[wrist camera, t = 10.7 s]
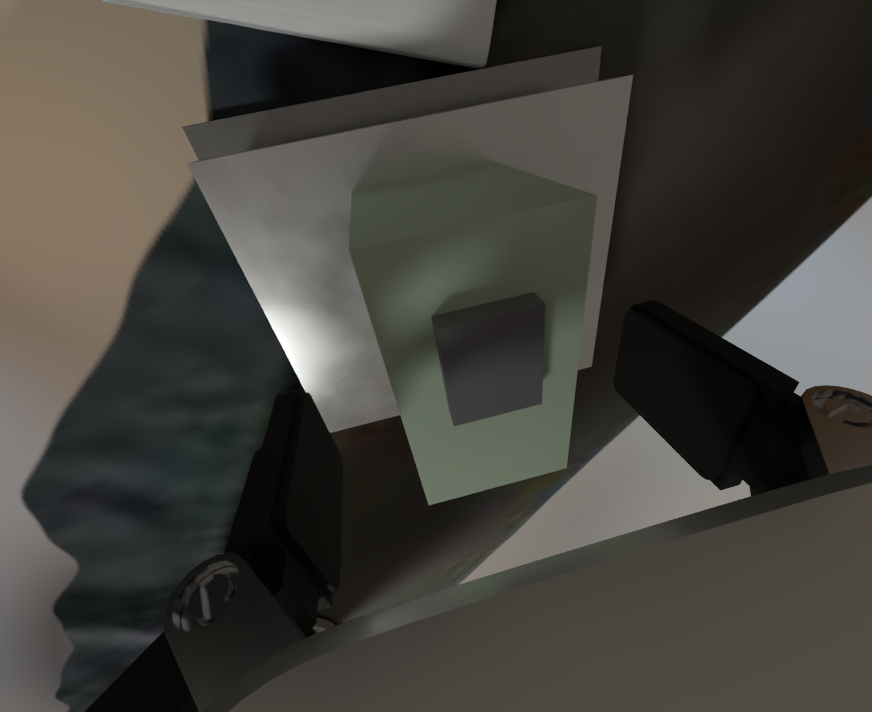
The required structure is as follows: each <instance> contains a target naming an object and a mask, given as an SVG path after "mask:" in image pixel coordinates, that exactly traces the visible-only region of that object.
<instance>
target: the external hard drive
mask: <svg viewBox="0 0 872 712" xmlns="http://www.w3.org/2000/svg"><path fill="white" fill-rule="evenodd" d="M103 1H104V2H107V3H114V4H120V5H125V6H130V7H135V8H145V9H148V10H152V11H156V12H162V13H168V14H173V15H179V16H185V17H190V18H195V19H202V20H205V19H207V20H213V21H218V22H224V23H229V24H235V25H240V26H245V27H251V28H256V29H261V30H266V31H272V32H277V33H283V34H288V35H294V36H299V37H305V38H310V39H316V40H321V41H327V42H333V43H338V44H344V45H349V46H354V47H360V48H365V49H371V50H376V51H382V52H387V53H393V54H398V55H404V56H409V57H415V58H421V59H426V60H432V61H437V62H443V63H448V64H454V65H460V66H465V67H471V68H476V69H480V68H482V67H484V66H485V65H486V63H487V58H488V53H489V48H490V42H491V36H492V29H493V22H494V16H495V10H496V2H497V0H103Z"/></svg>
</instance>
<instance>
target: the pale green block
mask: <svg viewBox="0 0 872 712" xmlns="http://www.w3.org/2000/svg"><path fill="white" fill-rule="evenodd" d="M596 203H597V195H595V194H592V193H589V192H586V191H583V190H580V189H577V188H574V187H571V186H568V185H565V184H562V183H559V182H556V181H553V180H550V179H546V178H543V177H540V176H537V175H534V174H531V173H528V172H525V171H522V170H519V169H516V168H513V167H510V166H507V165H504V164H501V163H498V162H496V163H491V164H486V165H481V166H477V167H472V168H467V169H462V170H458V171H453V172H448V173H443V174H438V175H434V176H429V177H424V178H419V179H415V180H410V181H405V182H400V183H396V184H391V185H386V186H381V187H377V188H372V189H367V190H362V191H358V192H353V193H352V194H351V214H350V234H349V253H350V256H351V259H352V262H353V266H354V269H355V272H356V275H357V278H358V281H359V285H360V288H361V291H362V294H363V297H364V301H365V304H366V307H367V310H368V313H369V317H370V320H371V323H372V326H373V329H374V333H375V336H376V339H377V342H378V345H379V348H380V352H381V355H382V358H383V361H384V364H385V368H386V371H387V374H388V377H389V380H390V384H391V387H392V390H393V393H394V396H395V400H396V403H397V406H398V409H399V412H400V415H401V419H402V422H403V425H404V428H405V431H406V435H407V438H408V441H409V444H410V447H411V451H412V454H413V457H414V460H415V463H416V467H417V470H418V473H419V476H420V479H421V482H422V486H423V489H424V492H425V495H426V498H427V502H428V505H432V504H436V503H440V502H443V501H447V500H451V499H454V498H458V497H462V496H466V495H469V494H473V493H477V492H480V491H484V490H488V489H491V488H495V487H499V486H502V485H506V484H510V483H513V482H517V481H521V480H525V479H528V478H532V477H536V476H539V475H543V474H547V473H550V472H554V471H558V470H561V469H565V468H567V460H568V451H569V442H570V433H571V424H572V416H573V407H574V398H575V389H576V380H577V371H578V362H579V353H580V345H581V336H582V327H583V318H584V309H585V300H586V291H587V282H588V274H589V265H590V256H591V247H592V238H593V229H594V220H595V212H596Z"/></svg>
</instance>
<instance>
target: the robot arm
mask: <svg viewBox="0 0 872 712" xmlns="http://www.w3.org/2000/svg"><path fill="white" fill-rule="evenodd" d="M798 384H799V382H798V381H796V380H795V379H793V378H791V377H789V376H788V375H786V374H784V373H782V372H780V371H779V370H777V369H775V368H774V367H772V366H770V365H768V364H767V363H765V362H763V361H761V360H760V359H758V358H756V357H754V356H753V355H751V354H749V353H747V352H746V351H744V350H742V349H740V348H738V347H737V346H735V345H733V344H732V343H730V342H728V341H726V340H725V339H723V338H721V337H719V336H718V335H716V334H714V333H712V332H711V331H709V330H707V329H705V328H704V327H702V326H700V325H698V324H697V323H695V322H693V321H691V320H690V319H688V318H686V317H684V316H683V315H681V314H679V313H677V312H676V311H674V310H672V309H670V308H669V307H667V306H665V305H663V304H662V303H660V302H658V301H655V300H651V301H647V302H643V303H639V304H635V305H633V306H632V307H631V308H630V310H629V311H628V312H627V313H626V315H625V319H624V325H623V331H622V336H621V342H620V347H619V353H618V359H617V364H616V370H615V376H614V387H615V389H616V391H617V392H618V393H619V395H620V396H621V397H622V398H623V399H624V400H625V401H626V402H627V403H628V404H629V405H630V406H631V407H632V408H633V409H634V410H635V411H636V412H637V413H638V414H639V415H640V416H641V417H642V418H643V419H644V420H645V421H647V423H648V424H649V425H650V426H651V427H652V428H654V430H655V431H656V432H657V433H658V434H659V435H660V436H661V437H662V438H664V439H665V440H666V442H667V443H668V444H669V445H670V446H671V447H672V448H673V449H674V450H675V451H676V452H677V453H678V454H679V455H680V456H681V457H682V458H683V459H684V460H685V461H686V462H687V463H688V464H690V466H691V467H692V468H693V469H694V470H695V471H696V472H698V474H699V475H700V476H702V477H703V478H705V479H707V480H710V481H711V482H713V484H714V485H716V486H717V487H718V488H719V489H720V490H723V489H726V488H730V487H733V486H737V485H739V484H740V483H741V481H742V480H744V481H745V482H746V483H747V484H748V485H749V486H750V492H751V497H747V498H744V499H741V500H737V501H734V502H731V503H727V504H724V505H721V506H717V507H714V508H710V509H707V510H704V511H700V512H697V513H694V514H690V515H687V516H684V517H680V518H677V519H673V520H670V521H667V522H663V523H660V524H657V525H653V526H650V527H647V528H643V529H640V530H637V531H634V532H630V533H627V534H624V535H620V536H617V537H614V538H610V539H608V540H604V541H601V542H597V543H594V544H591V545H587V546H584V547H581V548H577V549H574V550H571V551H567V552H564V553H561V554H558V555H554V556H551V557H548V558H545V559H541V560H538V561H535V562H532V563H528V564H525V565H522V566H518V567H515V568H512V569H509V570H505V571H502V572H499V573H496V574H492V575H489V576H486V577H483V578H479V579H476V580H473V581H470V582H466V583H463V584H460V585H457V586H454V587H450V588H447V589H444V590H441V591H437V592H434V593H431V594H428V595H425V596H422V597H419V598H416V599H412V600H409V601H406V602H403V603H400V604H397V605H394V606H391V607H388V608H385V609H382V610H379V611H376V612H373V613H370V614H367V615H364V616H361V617H358V618H355V619H352V620H349V621H347V622H344V623H342V624H339V625H336V626H335V625H334V624H333V623H332V622H330V621H328V620H326V619H322V618H318V617H317V611H319V610H322V609H326V608H329V607H332V592H333V591H336V590H338V588H339V583H340V553H341V518H342V483H343V462H342V458H341V455H340V453H339V450H338V448H337V446H336V444H335V442H334V440H333V438H332V436H331V434H330V432H329V430H328V428H327V426H326V424H325V422H324V420H323V418H322V416H321V414H320V412H319V410H318V408H317V406H316V404H315V402H314V400H313V398H312V396H311V395H310V393H308V392H307V393H303V392H302V391H301V390H300V389H297V390H293V391H290V392H286V393H282V394H279V395H277V397H276V400H275V404H274V407H273V411H272V414H271V418H270V421H269V425H268V428H267V432H266V435H265V439H264V443H263V446H262V448H261V449H258V450H257V451H256V452H255V455H254V457H253V460H252V463H251V466H250V470H249V473H248V476H247V480H246V483H245V486H244V490H243V493H242V496H241V500H240V503H239V506H238V510H237V513H236V516H235V520H234V523H233V526H232V530H231V533H230V536H229V539H228V543H227V546H226V549H225V553H223V554H218V555H215V556H213V557H211V558H209V559H207V560H205V561H203V562H202V563H200V564H199V565H198V566H196V567H195V568H194V569H192V570H191V571H190V572H189V573H188V574H187V575H186V577H185V578H184V579H183V580H182V581H181V582H180V583H179V585H178V586H177V588H176V589H175V590H174V592H173V593H172V595H171V597H170V599H169V601H168V604H167V606H166V608H165V612H164V617H163V628H164V632H163V633H162V634H161V635H160V636H159V637H158V638H157V639H156V640H155V641H154V642H153V643H152V644H151V645H150V646H149V647H148V648H147V649H146V650H145V651H144V652H143V653H142V654H141V655H140V656H139V657H138V658H137V659H136V660H135V661H134V662H133V663H132V664H131V665H130V666H129V667H128V668H127V669H126V670H125V671H124V672H123V673H122V674H121V675H120V676H119V677H118V678H117V679H116V680H115V681H114V682H113V683H112V684H111V685H110V686H109V687H108V688H107V689H106V691H105V692H104V693H103V694H102V695H101V696H100V697H99V698H98V699H97V700H96V701H95V702H94V703H93V704H92V705H91V706H90V707H89V708H88V709H87V710H86V711H85V712H872V396H871V395H868V394H866V393H863V392H860V391H856V390H853V389H849V388H844V387H839V386H826V385H825V386H815V387H812V388H809V389H807V390H806V391H805V392H804V393H803V394H802V396H801V397H800V396H799V395H797V394H795V393H794V390H795V389H796V387H797V385H798Z"/></svg>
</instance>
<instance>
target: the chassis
mask: <svg viewBox="0 0 872 712" xmlns="http://www.w3.org/2000/svg"><path fill="white" fill-rule="evenodd" d="M601 48H602V46H598V47H593V48H588V49H583V50H577V51H572V52H567V53H562V54H557V55H552V56H546V57H541V58H536V59H531V60H526V61H520V62H515V63H510V64H505V65H500V66H495V67H489V68H484V69H479V70H474V71H469V72H463V73H458V74H453V75H448V76H443V77H438V78H432V79H427V80H422V81H417V82H412V83H406V84H401V85H396V86H391V87H386V88H381V89H375V90H370V91H365V92H360V93H355V94H349V95H344V96H339V97H334V98H329V99H324V100H318V101H313V102H308V103H303V104H298V105H292V106H287V107H282V108H277V109H272V110H267V111H261V112H256V113H251V114H246V115H241V116H235V117H230V118H225V119H220V120H215V121H209V122H204V123H200V124H194V125H189V126H184V127H183V129H184V131H185V133H186V135H187V137H188V139H189V141H190V143H191V145H192V147H193V149H194V151H195V153H196V155H197V157H198V159H199V161H195V162H192V163H188V166H189V168H190V170H191V172H192V174H193V176H194V178H195V180H196V182H197V183H198V185H199V187H200V189H201V191H202V193H203V195H204V197H205V199H206V201H207V203H208V205H209V207H210V209H211V210H212V212H213V214H214V216H215V218H216V220H217V222H218V224H219V226H220V228H221V230H222V232H223V234H224V236H225V237H226V239H227V241H228V243H229V245H230V247H231V249H232V251H233V253H234V255H235V257H236V259H237V261H238V263H239V264H240V266H241V268H242V270H243V272H244V274H245V276H246V278H247V280H248V282H249V284H250V286H251V288H252V289H253V291H254V293H255V295H256V297H257V299H258V301H259V303H260V305H261V307H262V309H263V311H264V313H265V315H266V316H267V318H268V320H269V322H270V324H271V326H272V328H273V330H274V332H275V334H276V336H277V338H278V340H279V342H280V343H281V345H282V347H283V349H284V351H285V353H286V355H287V357H288V359H289V361H290V363H291V365H292V367H293V369H294V370H295V372H296V374H297V376H298V378H299V380H300V382H301V384H302V386H303V388H304V390H305V392H306V393H307V392H308V393H310V395H311V396H312V398H313V400H314V402H315V404H316V406H317V408H318V410H319V412H320V414H321V416H322V418H323V420H324V422H325V424H326V426H327V428H328V430H329V432H330V433H331V432H335V431H339V430H343V429H347V428H351V427H355V426H359V425H363V424H367V423H371V422H375V421H379V420H383V419H387V418H391V417H395V416H399V415H400V412H399V409H398V406H397V403H396V400H395V396H394V393H393V390H392V387H391V384H390V380H389V377H388V374H387V371H386V368H385V364H384V361H383V358H382V355H381V352H380V348H379V345H378V342H377V339H376V336H375V333H374V329H373V326H372V323H371V320H370V317H369V313H368V310H367V307H366V304H365V301H364V297H363V294H362V291H361V288H360V285H359V281H358V278H357V275H356V272H355V269H354V266H353V262H352V259H351V256H350V253H349V234H350V214H351V194H352V193H353V192H358V191H362V190H367V189H372V188H377V187H381V186H386V185H391V184H396V183H400V182H405V181H410V180H415V179H419V178H424V177H429V176H434V175H438V174H443V173H448V172H453V171H458V170H462V169H467V168H472V167H477V166H481V165H486V164H491V163H496V162H498V163H501V164H504V165H507V166H510V167H513V168H516V169H519V170H522V171H525V172H528V173H531V174H534V175H537V176H540V177H543V178H546V179H550V180H553V181H556V182H559V183H562V184H565V185H568V186H571V187H574V188H577V189H580V190H583V191H586V192H589V193H592V194H595V195H597V203H596V212H595V220H594V229H593V238H592V247H591V256H590V265H589V274H588V282H587V291H586V300H585V309H584V318H583V327H582V336H581V345H580V353H579V362H578V370H580V369H584V368H588V367H592V361H593V354H594V347H595V340H596V333H597V326H598V319H599V311H600V304H601V297H602V290H603V283H604V276H605V269H606V262H607V255H608V248H609V241H610V234H611V227H612V220H613V213H614V206H615V199H616V192H617V185H618V178H619V171H620V164H621V157H622V150H623V143H624V136H625V129H626V122H627V115H628V108H629V101H630V94H631V87H632V80H633V75H628V76H621V77H614V78H609V79H604V80H599V81H598V79H599V69H600V58H601Z"/></svg>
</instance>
